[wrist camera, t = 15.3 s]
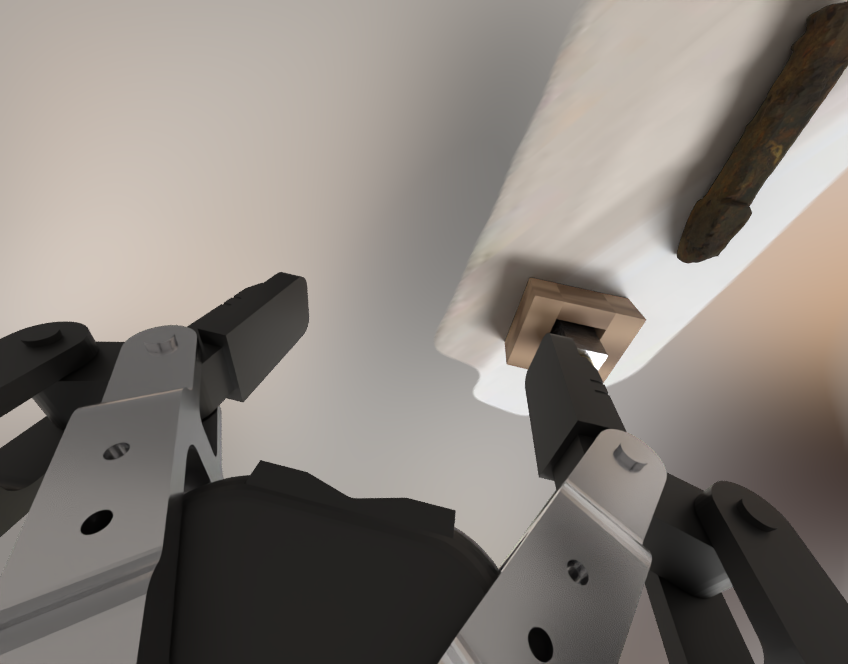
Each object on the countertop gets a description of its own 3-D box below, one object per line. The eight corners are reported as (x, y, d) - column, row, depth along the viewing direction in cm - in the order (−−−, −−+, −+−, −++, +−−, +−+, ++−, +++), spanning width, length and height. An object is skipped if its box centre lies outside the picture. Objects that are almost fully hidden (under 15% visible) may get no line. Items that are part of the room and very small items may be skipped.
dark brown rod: (801, 9, 23) (863, -15, 19) (856, 20, 23) (929, -2, 19) (650, 249, 34) (670, 264, 30) (686, 258, 34) (711, 274, 30)
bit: (553, 305, 39) (577, 364, 29) (584, 312, 39) (618, 374, 29) (541, 330, 41) (558, 393, 31) (570, 337, 41) (597, 403, 31)
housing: (529, 277, 37) (535, 295, 33) (628, 298, 37) (646, 319, 33) (504, 341, 43) (506, 364, 39) (589, 361, 43) (601, 386, 38)
